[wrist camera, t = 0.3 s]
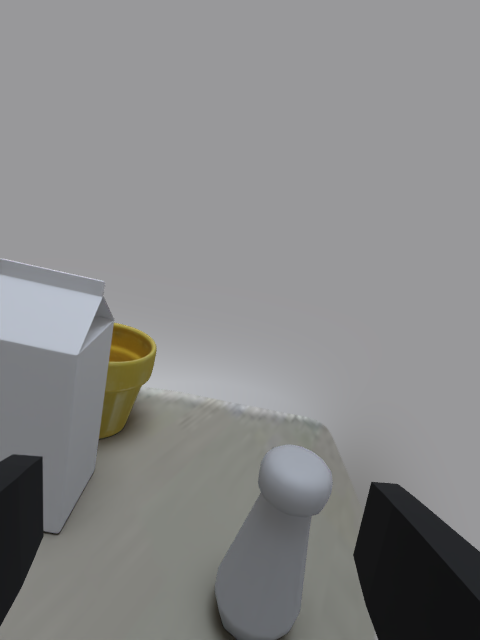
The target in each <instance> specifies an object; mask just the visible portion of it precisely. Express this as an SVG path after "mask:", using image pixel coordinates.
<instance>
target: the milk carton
mask: <svg viewBox="0 0 480 640" xmlns="http://www.w3.org/2000/svg"><path fill="white" fill-rule="evenodd" d="M104 286H105V282H104V281H101V280H97V279H92V278H88V277H83V276H79V275H74V274H70V273H65V272H61V271H56V270H52V269H47V268H43V267H38V266H34V265H29V264H25V263H21V262H16V261H12V260H6V259H0V461H2V460H4V459H5V458H7V457H9V456H11V455H12V454H17V455H30V456H43V531H45V532H51V533H59V532H60V531H61V529H62V527H63V525H64V524H65V522H66V520H67V518H68V516H69V515H70V513H71V511H72V509H73V508H74V506H75V504H76V502H77V500H78V499H79V497H80V495H81V493H82V491H83V490H84V488H85V486H86V484H87V483H88V481H89V479H90V477H91V475H92V474H93V472H94V469H95V463H96V456H97V448H98V440H99V433H100V425H101V417H102V410H103V402H104V394H105V387H106V379H107V371H108V364H109V356H110V348H111V341H112V333H113V325H114V318H113V316H112V314H111V312H110V310H109V307H108V305H107V303H106V301H105V299H104V296H103V294H104Z"/></svg>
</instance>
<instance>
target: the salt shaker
mask: <svg viewBox="0 0 480 640" xmlns="http://www.w3.org/2000/svg"><path fill="white" fill-rule="evenodd" d="M258 484H259V488H260V490H261V493H260V495H259V497H258V499H257V500H256V502H255V504H254V506H253V508H252V509H251V511H250V513H249V515H248V516H247V518H246V520H245V522H244V523H243V525H242V527H241V529H240V531H239V532H238V534H237V536H236V538H235V539H234V541H233V543H232V545H231V546H230V548H229V550H228V552H227V553H226V555H225V557H224V559H223V561H222V562H221V564H220V566H219V568H218V572H217V578H216V583H215V595H216V600H217V604H218V609H219V613H220V616H221V620H222V624H223V627H224V628H225V629H226V630H227V631H228V632H229V633H230V634H231V635H232V636H234V637H235V638H236V639H237V640H277V639H279V638H280V637H282V636H283V635H285V634H287V633H288V632H289V630H290V629H291V627H292V625H293V623H294V622H295V620H296V618H297V616H298V614H299V612H300V607H301V598H302V589H303V581H304V572H305V563H306V555H307V546H308V538H309V529H310V523H311V516H313V515H316V514H319V512H320V511H321V510H322V509H323V507H324V506H325V504H326V503H327V501H328V499H329V497H330V494H331V490H332V473H331V471H330V470H329V468H328V467H327V465H326V464H325V462H324V461H323V460H322V458H320V457H319V456H318V455H316V454H315V453H314V452H312V451H311V450H308V449H306V448H303V447H301V446H296V445H289V444H288V445H283V446H278V447H274V448H272V449H271V450H270V451H269V452H267V453H266V454H265V456H264V458H263V460H262V462H261V466H260V471H259V479H258Z"/></svg>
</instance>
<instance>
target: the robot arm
mask: <svg viewBox="0 0 480 640" xmlns="http://www.w3.org/2000/svg"><path fill="white" fill-rule="evenodd" d="M42 538H43V456H30V455H17V454H12V455H11V456H9V457H7V458H5V459H4V460H2V461H0V626H1V624H2V622H3V620H4V618H5V617H6V615H7V613H8V611H9V609H10V608H11V606H12V604H13V602H14V600H15V598H16V597H17V595H18V593H19V591H20V589H21V587H22V585H23V583H24V580H25V578H26V576H27V574H28V571H29V569H30V567H31V564H32V562H33V560H34V557H35V555H36V552H37V550H38V548H39V545H40V543H41V540H42ZM353 556H354V560H355V564H356V568H357V572H358V577H359V581H360V585H361V588H362V592H363V596H364V600H365V603H366V607H367V609H368V612H369V615H370V618H371V621H372V623H373V626H374V629H375V632H376V634H377V637H378V640H480V552H479V551H478V550H477V549H476V548H475V547H473V546H472V545H471V544H470V543H469V542H467V541H466V540H465V539H464V538H463V537H461V536H460V535H459V534H458V533H457V532H455V531H454V530H453V529H452V528H451V527H450V526H448V525H447V524H446V523H445V522H444V521H442V520H441V519H440V518H439V517H438V516H437V515H435V514H434V513H433V512H432V511H431V510H429V509H428V508H427V507H426V506H424V505H423V504H422V503H421V502H420V501H419V500H417V499H416V498H415V497H414V496H413V495H411V494H410V493H409V492H407V491H406V490H405V489H404V488H402V487H401V486H400V485H398V484H390V483H378V482H371V486H370V490H369V494H368V498H367V502H366V506H365V510H364V514H363V518H362V522H361V526H360V530H359V534H358V538H357V542H356V546H355V550H354V554H353Z"/></svg>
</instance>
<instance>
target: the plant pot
mask: <svg viewBox="0 0 480 640" xmlns="http://www.w3.org/2000/svg"><path fill="white" fill-rule="evenodd" d="M155 356H156V344H155V342H154V341H153V339H152V338H151V337H150V336H148V335H147V334H145V333H144V332H142V331H140V330H138V329H135V328H133V327H130V326H126V325H122V324H117V323H114V325H113V333H112V341H111V348H110V356H109V364H108V371H107V379H106V387H105V394H104V402H103V410H102V417H101V425H100V433H99V439H100V438H105V437H109V436H112V435H114V434H116V433H118V432H119V431H121V430H122V429H123V427H124V426H125V424H126V421H127V419H128V417H129V414H130V412H131V409H132V407H133V405H134V402H135V400H136V398H137V395H138V393H139V391H140V388H141V386H142V385H143V384H145V383H146V382H147V381H148V380H149V378H150V376H151V373H152V370H153V366H154V361H155Z"/></svg>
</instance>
